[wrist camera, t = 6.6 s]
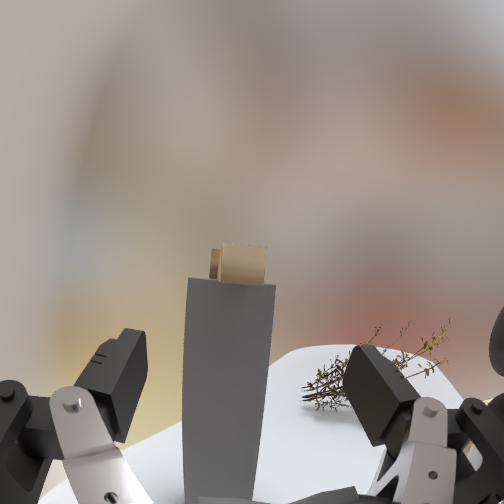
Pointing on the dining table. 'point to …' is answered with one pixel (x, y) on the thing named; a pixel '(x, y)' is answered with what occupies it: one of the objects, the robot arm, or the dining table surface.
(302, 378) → the dining table surface
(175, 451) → the dining table surface
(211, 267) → the hanging bar
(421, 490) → the robot arm
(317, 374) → the dried plant
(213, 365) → the plinth
